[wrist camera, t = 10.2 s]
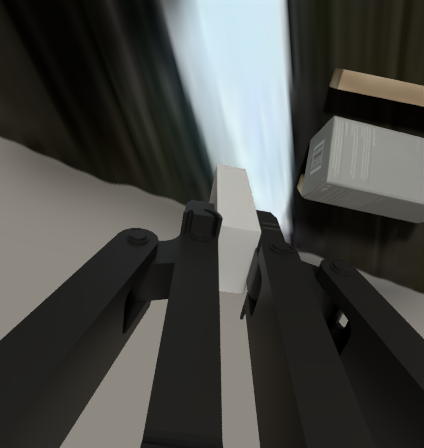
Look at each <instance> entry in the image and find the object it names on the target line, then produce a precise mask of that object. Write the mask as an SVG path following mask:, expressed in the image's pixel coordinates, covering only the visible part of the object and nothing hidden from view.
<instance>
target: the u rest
mask: <svg viewBox="0 0 424 448" xmlns="http://www.w3.org/2000/svg"><path fill="white" fill-rule="evenodd" d="M329 87H332V88H336V89H340V90H345V91H350V92H355V93H359V94H364V95H369V96H374V97H379V98H384V99H389V100H394V101H399V102H404V103H409V104H414V105H419V106H424V86H421V85H416V84H412V83H407V82H402V81H397V80H392V79H388V78H383V77H378V76H373V75H368V74H363V73H359V72H354V71H349V70H344V69H337V68H335V70H334V73H333V76H332V79H331V83H330V86H329ZM304 177H305V174H301V176H300V179H299V182H298V185H297V188H298V190H299V192H300V194H301V195H302V189H303V183H304Z"/></svg>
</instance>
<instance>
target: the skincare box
mask: <svg viewBox="0 0 424 448" xmlns="http://www.w3.org/2000/svg"><path fill="white" fill-rule="evenodd" d="M302 197H304V198H305V199H309V200H313V201H317V202H322V203H326V204H331V205H336V206H340V207H345V208H349V209H354V210H359V211H363V212H368V213H372V214H377V215H381V216H386V217H391V218H395V219H400V220H404V221H409V222H414V223H421V222H424V138H420V137H417V136H413V135H409V134H405V133H401V132H397V131H393V130H389V129H385V128H381V127H377V126H373V125H369V124H365V123H361V122H357V121H353V120H349V119H345V118H341V117H337V116H334V117H333V118H332V119H331V120H330V121H329V122H328V123H327V124H326V125H325V126H324V127H323V128H322V129H321V130H320V131H319V132H318V133H317V134H316V135H315V136H314V137H313V138H312V139H311V140H310V148H309V153H308V159H307V164H306V171H305V177H304V183H303V189H302Z"/></svg>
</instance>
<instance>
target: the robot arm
mask: <svg viewBox="0 0 424 448" xmlns="http://www.w3.org/2000/svg"><path fill="white" fill-rule="evenodd" d="M246 283H247V290H248V292H247V295H246V299H245V302H244V305H243V309H242V312H241V316H240V319H243V317H244V315H245V314H246V322H247V330H248V340H249V349H250V357H251V367H252V376H253V385H254V394H255V404H256V412H257V422H258V431H259V440H260V448H424V339H423V338H422V337H421V336H420V335H419V334H418V333H417V332H416V331H415V330H414V328H412V326H411V325H410V324H409V323H408V322H407V321H406V320H405V319H404V318H403V317H402V316H401V315H400V314H399V313H398V312H397V311H396V310H395V309H394V308H393V307H392V306H391V305H390V304H389V303H388V302H387V301H386V299H385V298H383V296H382V295H381V294H379V293H378V291H377V290H376V289H375V288H374V287H373V286H372V285H371V284H370V283H369V282H368V281H367V280H366V279H365V278H364V277H363V276H362V275H361V274H360V273H359V272H358V270H356V269H355V268H354V267H353V266H352V265H350V264H348V263H346V262H345V261H343V260H340V259H333V258H327V259H324V260H322V261H321V263H320V266H319V267H318V266H315V265H312V264H309V263H306V262H304V261H301V259H300V256H299V254H298V252H297V250H296V249H295V248H294V247H293V246H291V245H290V244H288V243H286V242H285V240H284V237H283V234H282V231H281V229H280V226H279V223H278V220H277V218H276V217H275V216H274V215H273V214H272V213H270V212H265V211H259V210H256V209H255V205H254V201H253V197H252V193H251V189H250V185H249V181H248V177H247V173H246V169H242V168H236V167H230V166H225V165H219V164H217V166H216V171H215V176H214V182H213V187H212V192H211V197H210V202H209V203H207V202H201V201H195V200H191V201H190V202H189V203H187V204H186V208H185V211H184V214H183V220H182V227H181V233H180V235H179V236H178V237H177V238H175V239H172V240H168V241H158V237H157V235H155V234H154V233H153V232H151V231H149V230H146V229H141V228H130V229H126V230H123V231H122V232H120V233H118V234H117V235H116V236H115V237H114V238H113V239H112V240H111V241H110V242H108V243H107V244H106V245H105V246H104V247H103V248H102V249H101V250H100V251H98V252H97V253H96V254H95V255H94V256H93V257H92V258H91V259H90V260H88V261H87V262H86V263H85V264H84V265H83V266H82V267H81V268H80V269H79V270H78V271H76V272H75V273H74V274H73V275H72V276H71V277H70V278H69V279H68V280H66V282H64V283H63V284H62V285H61V286H60V287H59V288H58V289H57V290H55V292H53V293H52V294H51V295H50V296H49V297H48V298H47V299H46V300H44V301H43V302H42V303H41V304H40V305H39V306H38V307H37V308H36V309H34V311H32V312H31V313H30V314H29V315H28V316H27V317H26V318H25V319H23V320H22V321H21V322H20V323H19V324H18V325H17V326H16V327H15V328H14V329H12V331H10V332H9V333H8V334H7V335H6V336H5V337H4V338H3V339H1V340H0V448H59V447H60V446H61V444H62V443H63V441H64V440H65V438H66V436H67V435H68V433H69V432H70V430H71V429H72V427H73V426H74V424H75V422H76V421H77V419H78V418H79V416H80V414H81V413H82V411H83V410H84V408H85V407H86V405H87V404H88V402H89V400H90V399H91V397H92V396H93V394H94V393H95V391H96V389H97V388H98V386H99V385H100V383H101V382H102V380H103V378H104V377H105V375H106V374H107V372H108V371H109V369H110V368H111V366H112V364H113V363H114V361H115V359H116V358H117V357H118V355H119V353H120V352H121V350H122V349H123V347H124V346H125V344H126V342H127V341H128V339H129V338H130V336H131V334H132V333H133V331H134V329H135V328H136V326H137V325H138V323H139V322H140V320H141V319H142V317H143V316H144V314H145V313H146V311H147V309H148V308H149V306H150V303H151V300H161V299H168V304H167V309H166V315H165V321H164V326H163V331H162V336H161V342H160V347H159V353H158V358H157V364H156V370H155V375H154V380H153V386H152V391H151V396H150V402H149V407H148V413H147V418H146V424H145V429H144V434H143V440H142V443H141V447H140V448H223V443H222V408H221V407H222V406H221V358H220V357H221V356H220V305H219V291H224V292H231V293H238V294H243V293H244V290H245V287H246ZM342 314H344V315H345V316H346V317H347V319H348V322H347V324H346V326H345V327H343V326H342V325H341V324H340V323H339V320H340V318H341V316H342Z"/></svg>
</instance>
